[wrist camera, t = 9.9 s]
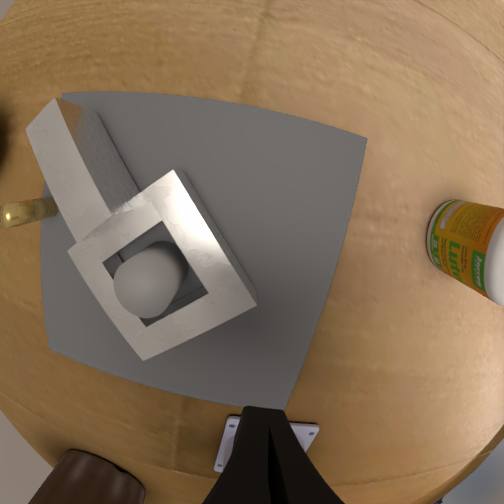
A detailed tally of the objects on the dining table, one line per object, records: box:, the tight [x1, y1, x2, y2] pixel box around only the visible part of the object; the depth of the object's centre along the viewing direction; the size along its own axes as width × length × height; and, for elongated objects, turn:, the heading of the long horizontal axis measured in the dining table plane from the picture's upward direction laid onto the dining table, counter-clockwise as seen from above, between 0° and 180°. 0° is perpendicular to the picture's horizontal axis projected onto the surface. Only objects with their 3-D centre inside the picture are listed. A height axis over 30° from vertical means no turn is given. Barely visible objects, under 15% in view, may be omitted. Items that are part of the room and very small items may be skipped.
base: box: [41, 92, 367, 411], centre depth 15 cm, size 20×20×5 cm
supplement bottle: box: [427, 200, 504, 306], centre depth 12 cm, size 5×5×10 cm
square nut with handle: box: [26, 97, 257, 361], centre depth 13 cm, size 14×8×4 cm, turn 30°
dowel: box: [0, 196, 59, 230], centre depth 13 cm, size 1×1×5 cm
